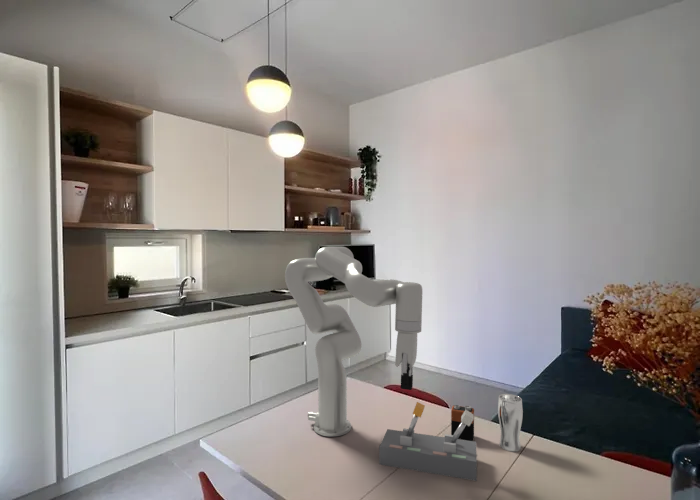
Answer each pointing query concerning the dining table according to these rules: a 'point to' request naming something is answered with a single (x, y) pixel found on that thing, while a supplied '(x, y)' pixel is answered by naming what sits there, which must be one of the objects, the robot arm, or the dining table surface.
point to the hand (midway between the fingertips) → (406, 388)
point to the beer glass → (510, 421)
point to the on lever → (462, 425)
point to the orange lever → (415, 417)
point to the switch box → (429, 454)
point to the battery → (456, 421)
